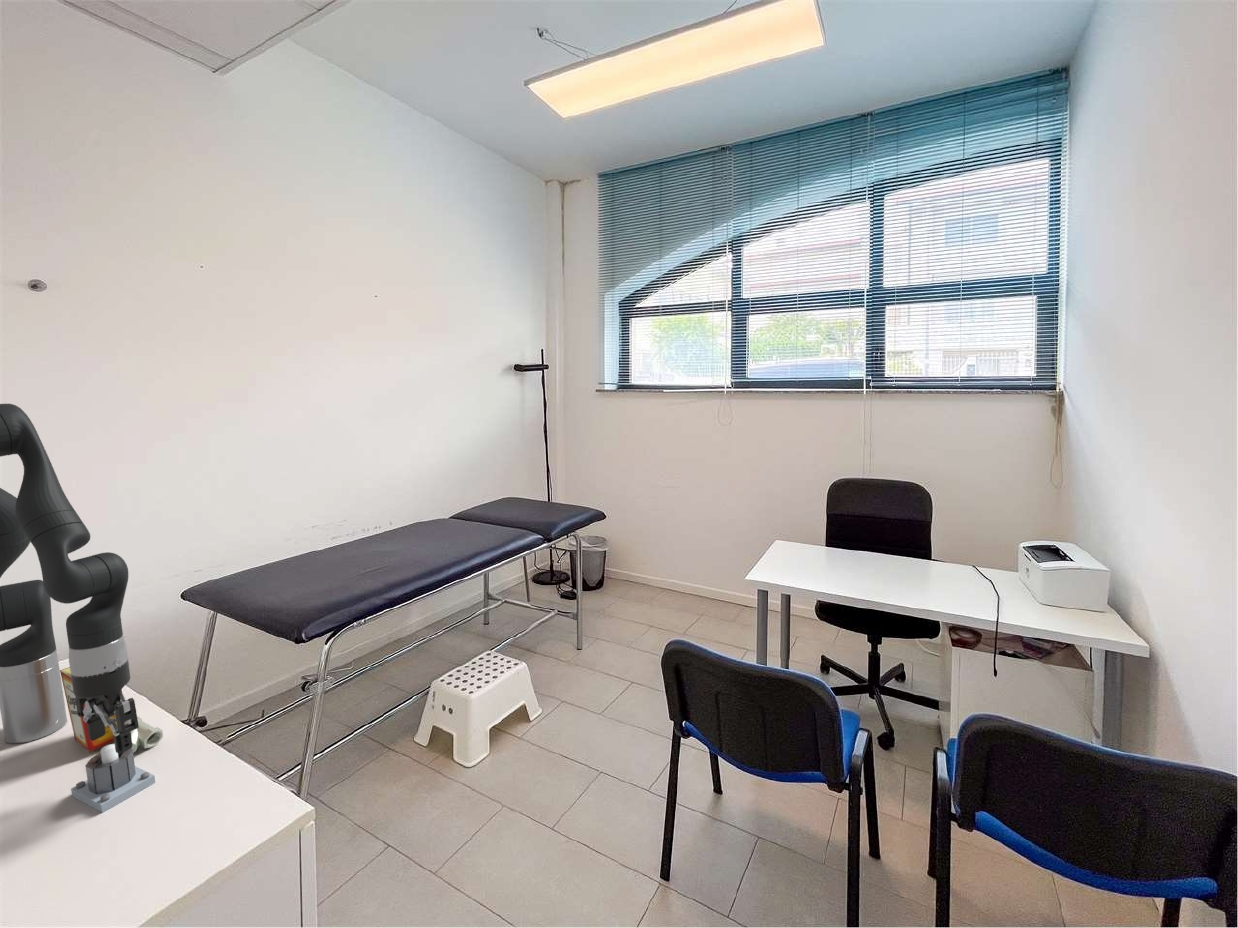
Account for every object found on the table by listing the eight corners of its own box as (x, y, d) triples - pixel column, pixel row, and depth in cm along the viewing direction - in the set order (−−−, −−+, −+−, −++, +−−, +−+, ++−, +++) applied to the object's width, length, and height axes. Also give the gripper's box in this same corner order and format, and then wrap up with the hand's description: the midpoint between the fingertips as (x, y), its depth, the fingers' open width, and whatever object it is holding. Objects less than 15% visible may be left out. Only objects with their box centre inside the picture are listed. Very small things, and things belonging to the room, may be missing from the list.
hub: (83, 787, 99) (79, 763, 98) (123, 766, 105) (120, 743, 104) (101, 797, 97) (98, 772, 96) (141, 775, 102) (138, 751, 102)
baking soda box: (75, 739, 114) (59, 668, 112) (115, 722, 120) (101, 654, 118) (89, 751, 109) (73, 677, 107) (130, 733, 115) (116, 662, 113)
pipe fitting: (126, 764, 108) (163, 740, 114) (124, 748, 107) (162, 726, 113) (100, 748, 110) (138, 727, 116) (98, 733, 109) (136, 712, 115)
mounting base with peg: (71, 795, 99) (65, 753, 98) (125, 767, 106) (119, 728, 105) (102, 812, 95) (96, 769, 94) (155, 782, 103) (150, 741, 101)
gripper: (50, 664, 97) (63, 745, 99) (96, 683, 91) (108, 768, 94) (103, 645, 103) (113, 722, 106) (148, 662, 98) (157, 742, 101)
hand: (110, 743), depth 100 cm, fingers open, 8 cm apart
